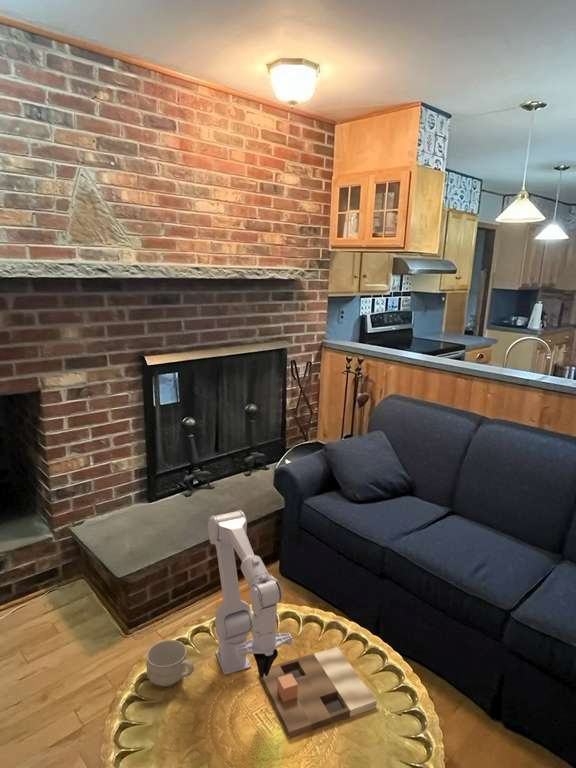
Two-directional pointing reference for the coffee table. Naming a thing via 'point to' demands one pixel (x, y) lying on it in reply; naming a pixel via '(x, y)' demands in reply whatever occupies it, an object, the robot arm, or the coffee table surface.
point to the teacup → (167, 662)
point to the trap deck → (318, 692)
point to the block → (287, 687)
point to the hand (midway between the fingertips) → (263, 673)
